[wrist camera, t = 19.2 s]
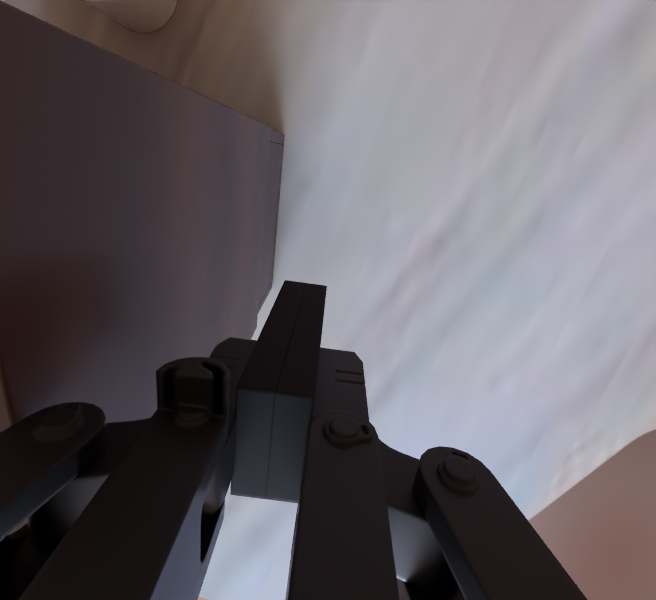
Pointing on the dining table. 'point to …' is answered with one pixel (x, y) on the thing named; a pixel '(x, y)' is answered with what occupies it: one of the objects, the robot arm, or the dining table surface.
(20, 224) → the lid
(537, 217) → the dining table surface
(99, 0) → the bottle
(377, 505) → the robot arm
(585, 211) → the dining table surface
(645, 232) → the dining table surface
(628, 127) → the dining table surface
